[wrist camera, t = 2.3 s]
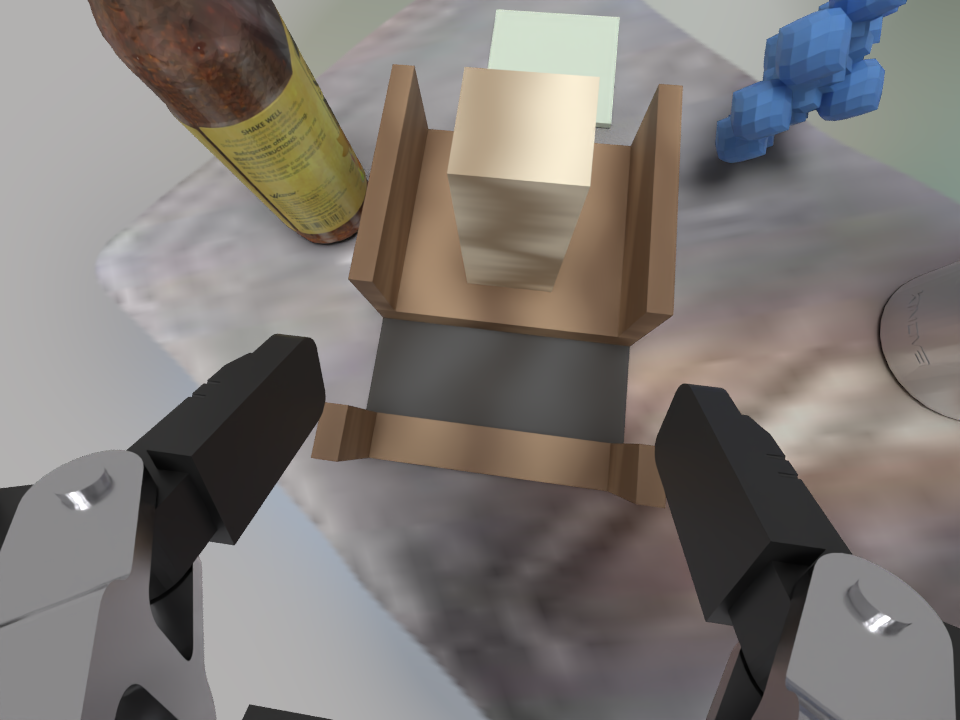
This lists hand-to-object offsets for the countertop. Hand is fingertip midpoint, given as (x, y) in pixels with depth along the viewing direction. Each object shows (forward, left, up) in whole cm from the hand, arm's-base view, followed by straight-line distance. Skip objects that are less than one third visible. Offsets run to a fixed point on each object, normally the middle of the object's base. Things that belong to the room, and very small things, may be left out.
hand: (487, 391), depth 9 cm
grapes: (-15, -20, -16) cm, 30 cm away
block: (0, -10, -13) cm, 17 cm away
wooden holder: (0, -8, -15) cm, 17 cm away
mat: (-1, -26, -15) cm, 30 cm away
